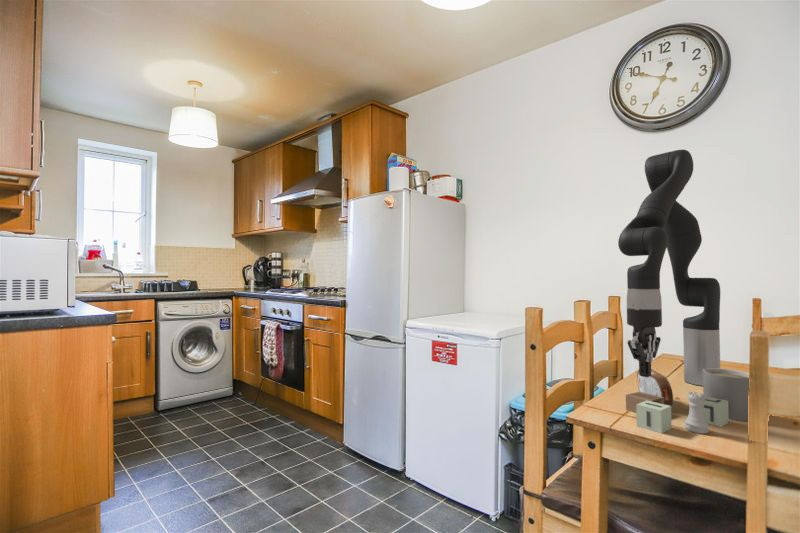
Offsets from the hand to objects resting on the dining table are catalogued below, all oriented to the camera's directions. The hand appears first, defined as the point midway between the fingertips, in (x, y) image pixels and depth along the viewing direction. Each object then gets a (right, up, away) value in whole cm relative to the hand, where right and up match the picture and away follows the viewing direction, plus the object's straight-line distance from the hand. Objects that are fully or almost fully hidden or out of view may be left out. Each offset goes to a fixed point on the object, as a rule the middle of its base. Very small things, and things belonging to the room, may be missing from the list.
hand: (645, 376), depth 100 cm
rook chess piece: (+3, -9, -13) cm, 16 cm away
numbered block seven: (+11, -9, -7) cm, 16 cm away
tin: (+6, -9, +6) cm, 13 cm away
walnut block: (0, -9, 0) cm, 9 cm away
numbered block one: (-5, -9, -11) cm, 15 cm away
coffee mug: (+20, -9, -1) cm, 22 cm away
